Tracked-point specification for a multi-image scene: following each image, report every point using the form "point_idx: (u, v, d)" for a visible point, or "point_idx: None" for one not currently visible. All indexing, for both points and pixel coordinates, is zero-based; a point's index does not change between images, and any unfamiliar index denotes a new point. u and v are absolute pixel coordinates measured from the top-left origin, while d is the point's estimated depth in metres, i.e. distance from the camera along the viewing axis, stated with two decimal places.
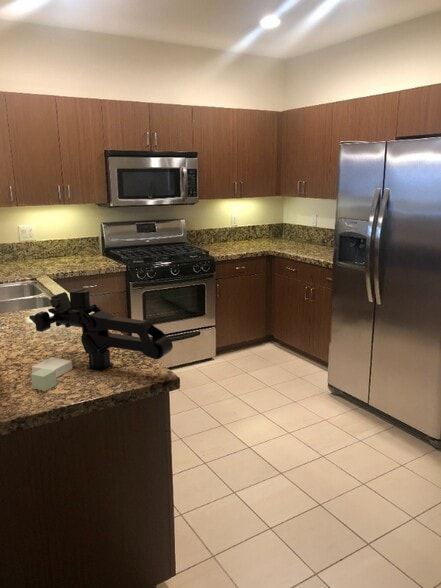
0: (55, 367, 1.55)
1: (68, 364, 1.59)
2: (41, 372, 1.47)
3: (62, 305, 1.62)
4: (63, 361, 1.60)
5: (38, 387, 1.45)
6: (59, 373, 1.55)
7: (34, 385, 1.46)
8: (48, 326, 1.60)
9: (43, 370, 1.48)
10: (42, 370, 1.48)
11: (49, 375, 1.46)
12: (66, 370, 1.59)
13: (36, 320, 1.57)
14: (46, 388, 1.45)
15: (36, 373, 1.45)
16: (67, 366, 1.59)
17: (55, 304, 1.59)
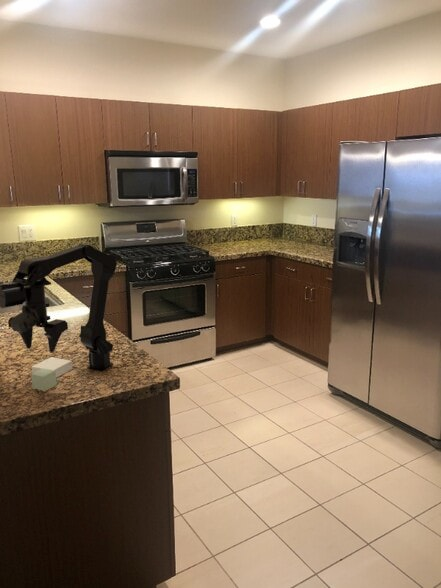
0: (55, 367, 1.55)
1: (68, 364, 1.59)
2: (41, 372, 1.47)
3: (28, 315, 1.37)
4: (63, 361, 1.60)
5: (38, 387, 1.45)
6: (59, 373, 1.55)
7: (34, 385, 1.46)
8: (57, 319, 1.42)
9: (43, 370, 1.48)
10: (42, 370, 1.48)
11: (49, 375, 1.46)
12: (66, 370, 1.59)
13: (59, 330, 1.39)
14: (46, 388, 1.45)
15: (36, 373, 1.45)
16: (67, 366, 1.59)
17: (33, 319, 1.35)
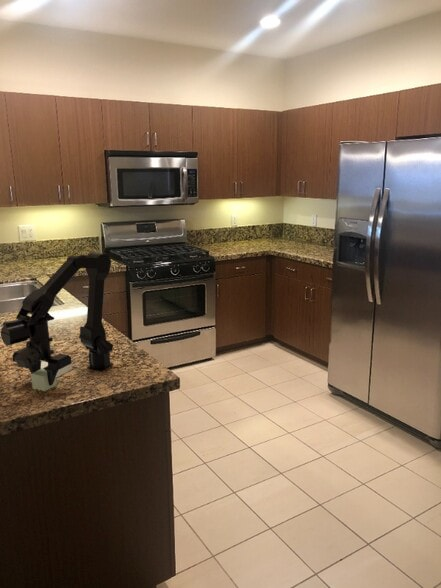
0: None
1: None
2: (41, 371, 1.47)
3: (32, 351, 1.40)
4: None
5: (38, 387, 1.45)
6: (59, 373, 1.55)
7: (34, 385, 1.46)
8: (61, 354, 1.44)
9: (43, 370, 1.48)
10: (42, 370, 1.48)
11: None
12: (66, 370, 1.59)
13: (63, 365, 1.41)
14: (46, 388, 1.45)
15: (36, 373, 1.45)
16: (67, 366, 1.59)
17: (37, 355, 1.38)
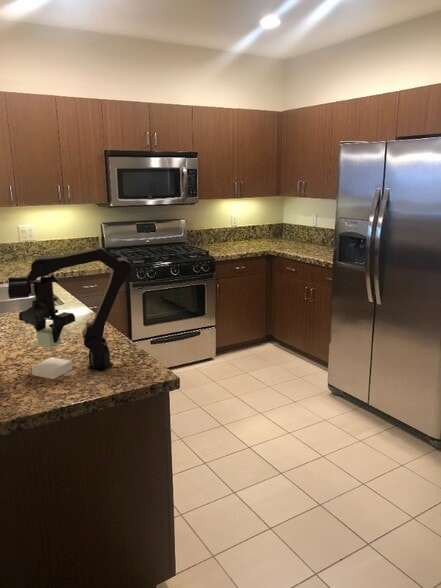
0: (55, 367, 1.55)
1: (68, 364, 1.59)
2: (46, 330, 1.55)
3: (38, 309, 1.48)
4: (63, 361, 1.60)
5: (43, 344, 1.54)
6: (59, 373, 1.55)
7: (39, 342, 1.54)
8: (65, 312, 1.53)
9: (48, 328, 1.56)
10: (47, 328, 1.56)
11: None
12: (66, 370, 1.59)
13: (67, 322, 1.50)
14: (51, 345, 1.53)
15: (41, 331, 1.54)
16: (67, 366, 1.59)
17: (43, 312, 1.46)
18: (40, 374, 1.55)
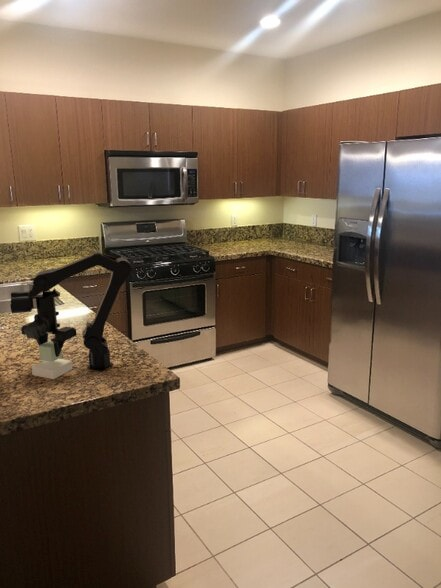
0: (55, 367, 1.55)
1: (68, 364, 1.59)
2: (48, 344, 1.57)
3: (40, 323, 1.50)
4: (63, 361, 1.60)
5: (45, 358, 1.55)
6: (59, 373, 1.55)
7: (41, 356, 1.56)
8: (67, 327, 1.54)
9: (50, 342, 1.58)
10: (49, 342, 1.58)
11: None
12: (66, 370, 1.59)
13: (69, 337, 1.51)
14: (53, 358, 1.55)
15: (43, 345, 1.55)
16: (67, 366, 1.59)
17: (45, 327, 1.48)
18: (40, 374, 1.55)
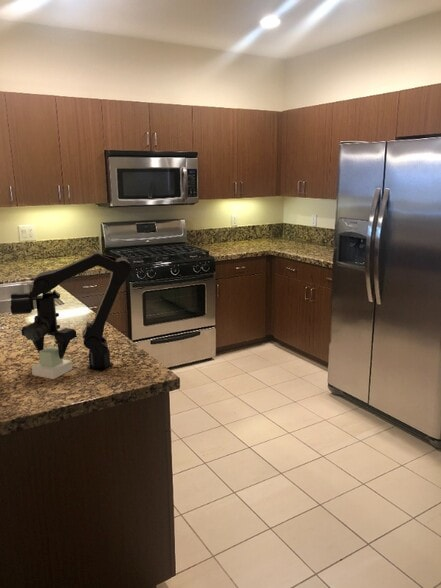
0: (55, 367, 1.55)
1: (68, 364, 1.59)
2: (48, 349, 1.57)
3: (40, 325, 1.50)
4: (63, 361, 1.60)
5: (45, 363, 1.56)
6: (59, 373, 1.55)
7: (42, 361, 1.56)
8: (67, 328, 1.54)
9: (50, 348, 1.58)
10: (49, 348, 1.58)
11: (56, 352, 1.56)
12: (66, 370, 1.59)
13: (69, 338, 1.51)
14: (53, 364, 1.55)
15: (43, 350, 1.56)
16: (67, 366, 1.59)
17: (45, 328, 1.48)
18: (40, 374, 1.55)
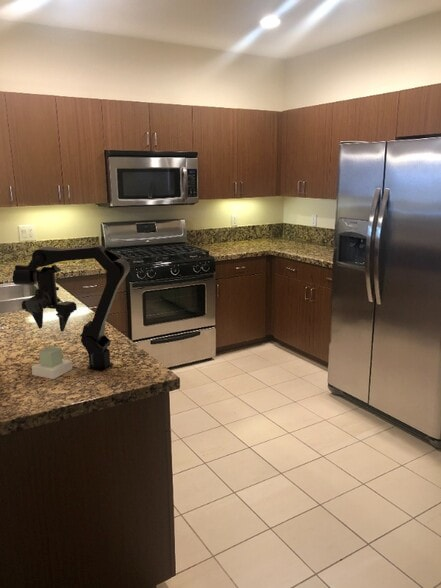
0: (55, 367, 1.55)
1: (68, 364, 1.59)
2: (48, 349, 1.57)
3: (41, 297, 1.54)
4: (63, 361, 1.60)
5: (45, 363, 1.56)
6: (59, 373, 1.55)
7: (42, 361, 1.56)
8: (67, 301, 1.58)
9: (50, 348, 1.58)
10: (49, 348, 1.58)
11: (56, 352, 1.56)
12: (66, 370, 1.59)
13: (69, 310, 1.55)
14: (53, 364, 1.55)
15: (43, 350, 1.56)
16: (67, 366, 1.59)
17: (46, 300, 1.52)
18: (40, 374, 1.55)
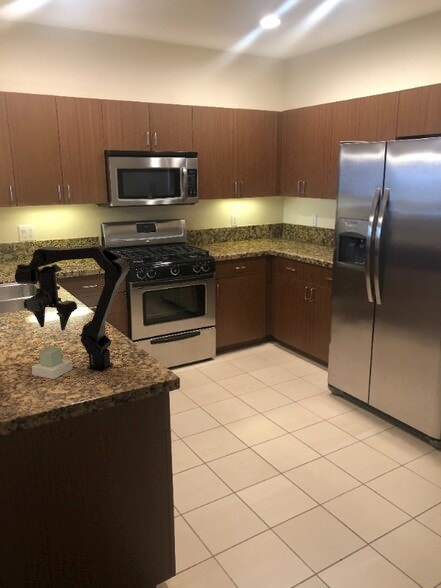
0: (55, 367, 1.55)
1: (68, 364, 1.59)
2: (48, 349, 1.57)
3: (42, 296, 1.55)
4: (63, 361, 1.60)
5: (45, 363, 1.56)
6: (59, 373, 1.55)
7: (42, 361, 1.56)
8: None
9: (50, 348, 1.58)
10: (49, 348, 1.58)
11: (56, 352, 1.56)
12: (66, 370, 1.59)
13: (70, 310, 1.56)
14: (53, 364, 1.55)
15: (43, 350, 1.56)
16: (67, 366, 1.59)
17: (46, 300, 1.53)
18: (40, 374, 1.55)
